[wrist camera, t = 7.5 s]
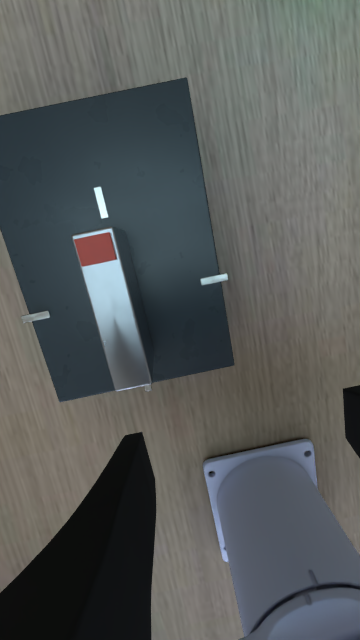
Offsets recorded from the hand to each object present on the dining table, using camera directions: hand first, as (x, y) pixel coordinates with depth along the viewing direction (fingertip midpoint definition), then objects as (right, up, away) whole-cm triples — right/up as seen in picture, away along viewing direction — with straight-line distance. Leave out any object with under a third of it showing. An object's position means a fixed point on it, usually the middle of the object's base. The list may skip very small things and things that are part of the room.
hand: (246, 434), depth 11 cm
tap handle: (-5, +5, +5) cm, 9 cm away
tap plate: (-6, +8, +7) cm, 12 cm away
